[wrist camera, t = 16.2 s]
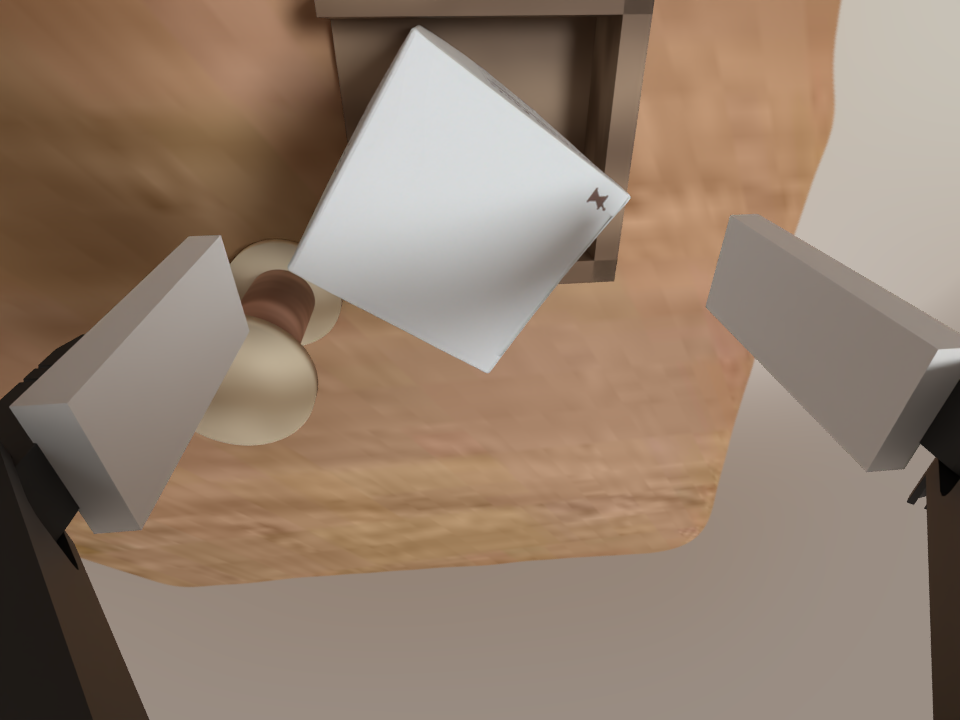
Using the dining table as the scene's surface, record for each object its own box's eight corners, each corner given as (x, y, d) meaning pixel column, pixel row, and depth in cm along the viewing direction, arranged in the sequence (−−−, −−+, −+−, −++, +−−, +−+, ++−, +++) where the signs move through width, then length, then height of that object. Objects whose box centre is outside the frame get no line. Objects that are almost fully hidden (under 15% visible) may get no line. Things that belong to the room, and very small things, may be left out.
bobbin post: (213, 241, 35) (129, 327, 25) (332, 236, 35) (299, 317, 25) (243, 342, 39) (183, 450, 29) (349, 336, 40) (326, 439, 30)
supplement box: (417, 18, 29) (416, 6, 14) (545, 119, 32) (645, 188, 18) (339, 168, 32) (278, 275, 18) (461, 244, 36) (488, 382, 22)
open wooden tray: (327, -14, 28) (310, -23, 24) (621, -15, 29) (657, -24, 25) (366, 262, 37) (358, 294, 32) (591, 252, 38) (614, 281, 34)
